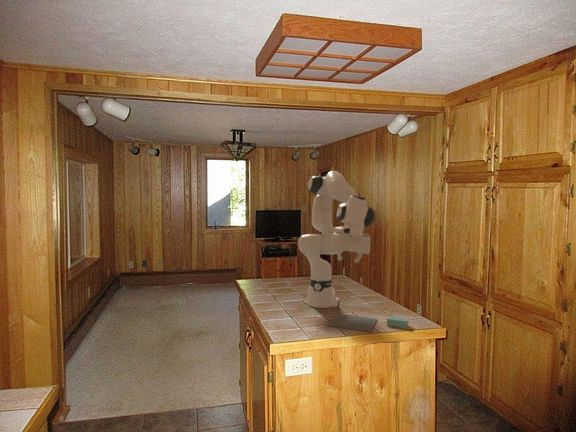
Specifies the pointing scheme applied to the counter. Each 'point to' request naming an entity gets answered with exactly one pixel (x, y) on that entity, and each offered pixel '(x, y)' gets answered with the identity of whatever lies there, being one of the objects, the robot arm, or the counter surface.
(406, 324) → the teal rectangular block
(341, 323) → the mat
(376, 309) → the counter surface
